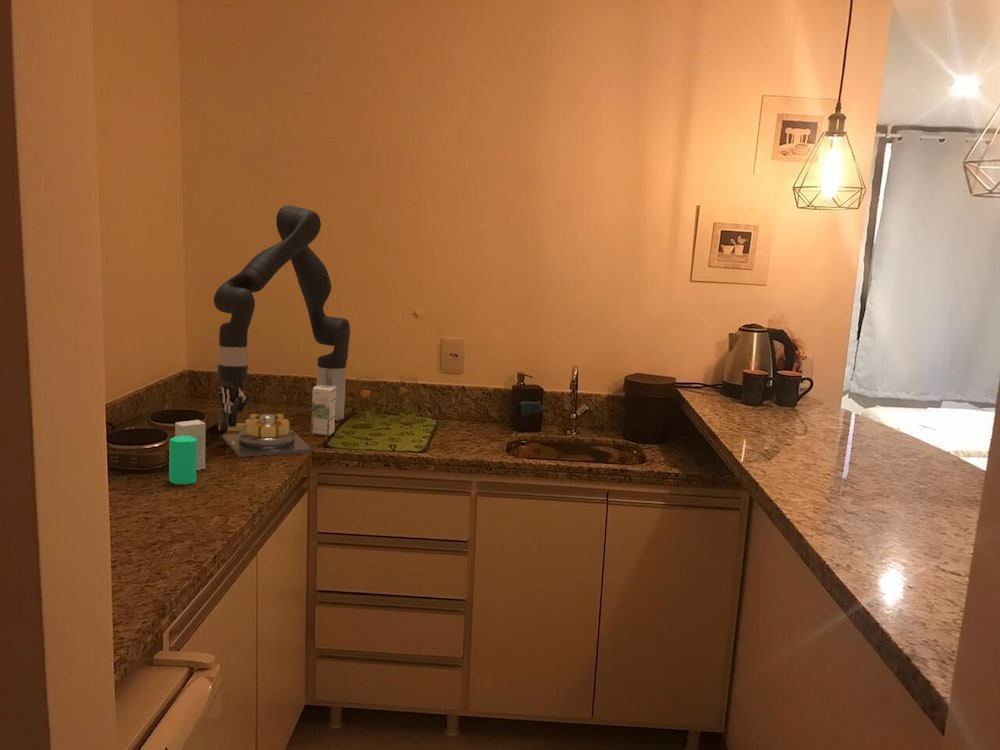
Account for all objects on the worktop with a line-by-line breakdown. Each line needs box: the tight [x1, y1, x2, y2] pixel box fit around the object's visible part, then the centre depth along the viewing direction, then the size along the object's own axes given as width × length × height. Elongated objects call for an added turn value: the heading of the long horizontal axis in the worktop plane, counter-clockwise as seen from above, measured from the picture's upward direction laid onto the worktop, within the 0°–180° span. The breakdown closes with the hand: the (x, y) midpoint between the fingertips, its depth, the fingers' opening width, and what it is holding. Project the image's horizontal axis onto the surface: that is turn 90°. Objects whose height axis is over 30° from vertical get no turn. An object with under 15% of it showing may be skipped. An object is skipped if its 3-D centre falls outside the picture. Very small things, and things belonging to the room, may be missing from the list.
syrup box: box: [310, 384, 336, 437], centre depth 234 cm, size 6×6×14 cm
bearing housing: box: [222, 413, 313, 458], centre depth 218 cm, size 20×20×8 cm
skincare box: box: [174, 419, 207, 471], centre depth 191 cm, size 6×4×12 cm
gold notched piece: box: [218, 407, 290, 438], centre depth 216 cm, size 19×12×7 cm, turn 110°
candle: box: [168, 432, 197, 485], centre depth 182 cm, size 6×6×12 cm
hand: (231, 426), depth 208 cm, fingers closed
